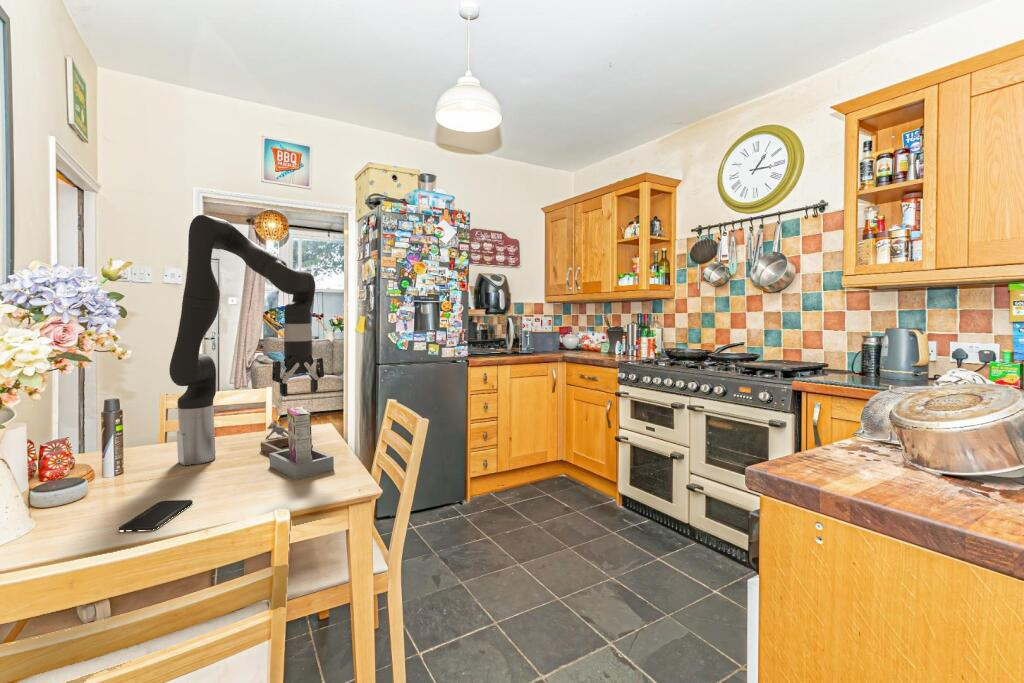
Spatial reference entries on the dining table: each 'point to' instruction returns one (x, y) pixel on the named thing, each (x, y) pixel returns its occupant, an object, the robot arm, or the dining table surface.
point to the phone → (156, 515)
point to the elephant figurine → (277, 429)
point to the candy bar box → (299, 435)
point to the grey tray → (301, 464)
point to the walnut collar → (274, 445)
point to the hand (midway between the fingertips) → (299, 394)
